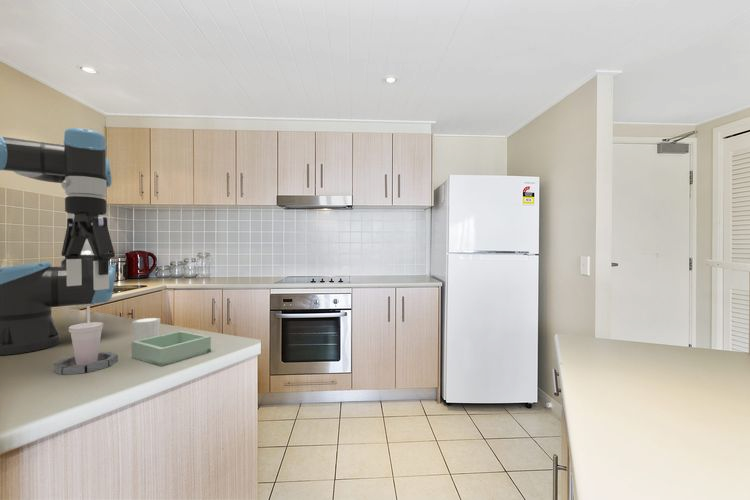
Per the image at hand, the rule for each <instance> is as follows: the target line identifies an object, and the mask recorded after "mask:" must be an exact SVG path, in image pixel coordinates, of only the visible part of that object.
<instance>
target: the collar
mask: <svg viewBox="0 0 750 500" xmlns="http://www.w3.org/2000/svg"><path fill="white" fill-rule="evenodd" d="M99 360H100V361H99ZM117 362H118V354H117V353H114V352H110V351H109V352H108V351H102V352H100V351H99V353H98V360H97V362H95V363H91V364H87V365H76V361H75V355H74V356H70V357H66V358H63V359H61V360H59V361H57V362H55V363H53V372H54V373H56V374H59V375H63V376H65V375H76V374H86V373H91V372H95V371H99V370H102V369H106V368H109V367H111V366H112V365H114V364H115V363H117Z"/></svg>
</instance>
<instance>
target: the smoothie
mask: <svg viewBox="0 0 750 500" xmlns="http://www.w3.org/2000/svg"><path fill="white" fill-rule="evenodd" d="M103 328H104V323H103V322H99V321H96V322H95V321H93V322H92V321H91V306H90V305H87V306H86V322H83V323H78V324H73V325H70V326H69V327H68V332H69V333H70V336H71V337H70V338H71V343H72V348H73V349H72V350H73V353H74V356H75V361H76V364H75V366H76V365H87V364H91V363H95V362H98V361H99V360H98V353H99V352H100V344H101V337H102V329H103Z"/></svg>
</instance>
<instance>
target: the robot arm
mask: <svg viewBox="0 0 750 500" xmlns="http://www.w3.org/2000/svg"><path fill="white" fill-rule="evenodd" d="M63 135H64V136H63V137H64V139H63V144H60V143H59V144H57V143H56V144H55V143H49V142H43V141H42V142H41V141H36V140H35V141H34V140H28V139H27V140H26V139H22V138H21V139H20V138H14V137H8V136H2V135H0V171H9V172H14V173H15V174H16V175H19V176H22V177H26V178H29V179H33V180H38V181H40V182H41V181H42V182H48V183H55V184H57V183H58V184H61V188H62V189H63V190H64V193H65V195H67V196H66V197H65V198H64V212H66V213H67V219H66V229H65V230H66V231H65V234H64V235H65V236H64V240H63V244H62V249H61V256H62V257H64V258H62V260H61V262H60V264H61V266H52V264H51V262H50V261H44V262H43V261H42V262H34V263H26V264H18V265H9V266H2V267H0V356H7V355H9V356H10V355H17V354H23V353H30V352H35V351H40V350H43V349H44V350H45V349H48V348H52V347H54V346H57V345H58V344H60V342H61V335H60V331H59V330H58V328H57V324H56V323H55V320H54V319H53V317H52V308H57V307H58V308H59V307H68V306H70V307H71V306H82V305H83V306H84V305H95V304H100V303H101V304H103V303H107V302H109V301H111V299H112V298H113V293H114V288H115V287H114V285H115V280H116V279H115V277H116V270H117V269H116V267H117V266H116V265H115V264H111V258H112V259H113V258H115V256H116V255H115V249H114V247H113V242H112V239H111V234H110V231H109V227H108V218H107V217H106V216H104V215H106V214H107V212H108V211H107V200H106V199H105V198H106V197H107V196H108V195H107V188H110V187H111V186H112V173H111V166H110V161H109V158H108V157H107V145H106V136H105V135H103V133H101V132H98V131H96V130H93V129H88V128H82V127H81V128H80V127H70V128H67V129H65V131H64V134H63Z"/></svg>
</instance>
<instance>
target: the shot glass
mask: <svg viewBox="0 0 750 500" xmlns="http://www.w3.org/2000/svg"><path fill="white" fill-rule="evenodd" d="M132 328H133V338H134V341H137V340H142V339H146V338H151V337H155V336H160V328H161V318H160V317H144V318H137V319H135V320H132Z"/></svg>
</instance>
